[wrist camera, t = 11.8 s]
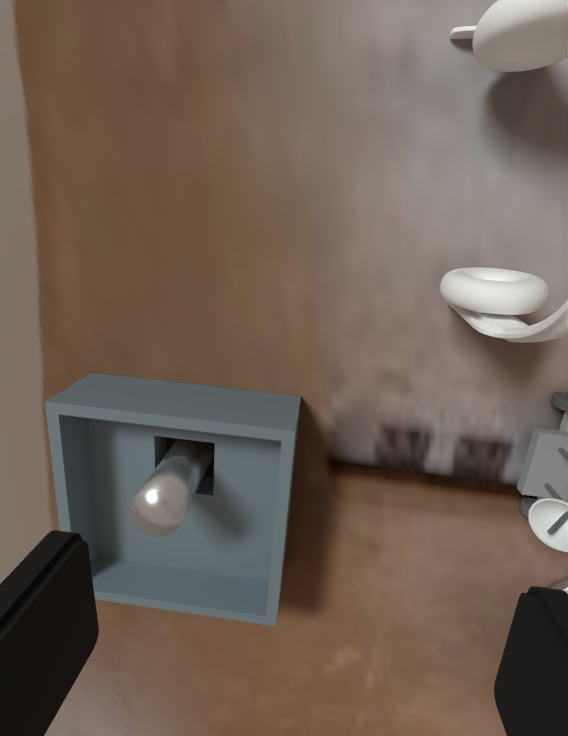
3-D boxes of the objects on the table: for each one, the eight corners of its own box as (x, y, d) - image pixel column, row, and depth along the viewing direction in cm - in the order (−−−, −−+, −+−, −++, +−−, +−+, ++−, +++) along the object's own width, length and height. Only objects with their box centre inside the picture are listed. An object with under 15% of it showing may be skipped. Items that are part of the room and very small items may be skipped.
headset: (505, 313, 34) (676, 395, 17) (417, 310, 35) (500, 387, 18) (559, 18, 28) (912, -304, 11) (450, 21, 28) (626, -278, 12)
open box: (301, 396, 38) (295, 431, 32) (284, 567, 45) (276, 626, 38) (92, 372, 40) (45, 401, 33) (105, 542, 46) (67, 594, 39)
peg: (213, 469, 42) (180, 540, 32) (174, 464, 42) (130, 533, 33) (214, 434, 40) (180, 496, 31) (174, 429, 41) (128, 489, 31)
